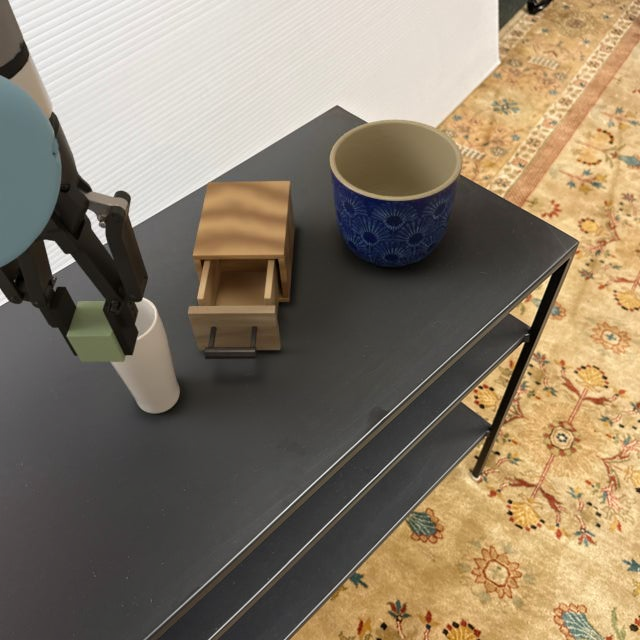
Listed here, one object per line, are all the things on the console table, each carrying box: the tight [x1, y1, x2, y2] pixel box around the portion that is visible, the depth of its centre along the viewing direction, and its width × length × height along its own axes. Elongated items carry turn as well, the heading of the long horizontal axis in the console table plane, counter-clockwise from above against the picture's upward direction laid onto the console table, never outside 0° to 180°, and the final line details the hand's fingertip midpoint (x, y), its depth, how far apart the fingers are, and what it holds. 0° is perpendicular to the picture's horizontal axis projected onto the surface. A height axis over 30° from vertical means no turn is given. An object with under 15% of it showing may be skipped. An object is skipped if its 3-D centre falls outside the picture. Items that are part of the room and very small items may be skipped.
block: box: [67, 300, 126, 363], centre depth 59 cm, size 4×4×4 cm
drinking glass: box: [110, 297, 181, 415], centre depth 73 cm, size 7×7×15 cm
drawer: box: [187, 259, 282, 360], centre depth 82 cm, size 18×10×7 cm, turn 179°
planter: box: [329, 119, 463, 268], centre depth 89 cm, size 17×17×15 cm
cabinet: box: [192, 180, 296, 303], centre depth 89 cm, size 15×12×9 cm
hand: (106, 343), depth 60 cm, fingers closed on block, 4 cm apart
